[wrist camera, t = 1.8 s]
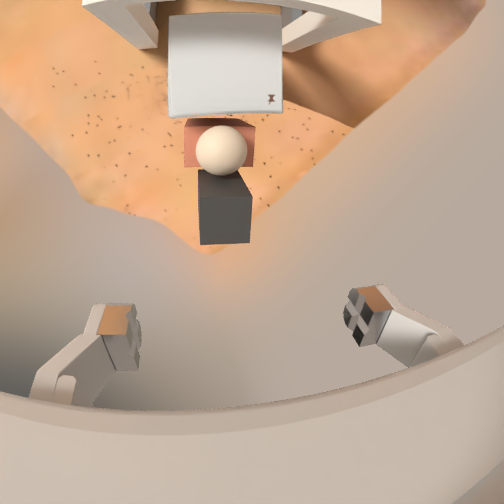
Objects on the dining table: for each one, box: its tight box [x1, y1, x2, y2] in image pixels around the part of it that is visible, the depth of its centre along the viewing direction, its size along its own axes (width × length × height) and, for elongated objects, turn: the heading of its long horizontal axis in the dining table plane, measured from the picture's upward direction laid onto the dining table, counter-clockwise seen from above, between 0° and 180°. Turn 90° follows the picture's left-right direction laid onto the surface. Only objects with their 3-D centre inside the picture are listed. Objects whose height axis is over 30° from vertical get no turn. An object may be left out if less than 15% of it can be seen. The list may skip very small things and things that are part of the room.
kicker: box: [184, 118, 255, 245], centre depth 22 cm, size 7×5×14 cm
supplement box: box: [168, 12, 283, 118], centre depth 20 cm, size 7×7×13 cm
